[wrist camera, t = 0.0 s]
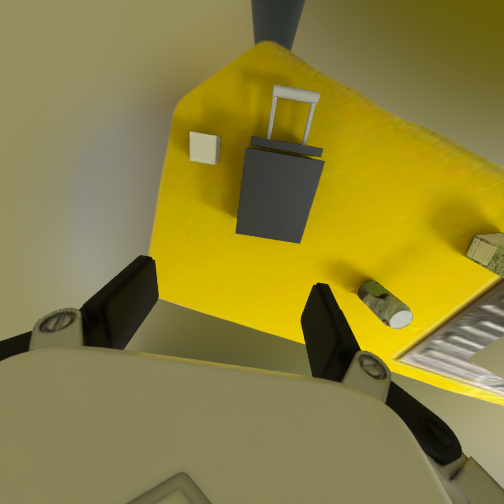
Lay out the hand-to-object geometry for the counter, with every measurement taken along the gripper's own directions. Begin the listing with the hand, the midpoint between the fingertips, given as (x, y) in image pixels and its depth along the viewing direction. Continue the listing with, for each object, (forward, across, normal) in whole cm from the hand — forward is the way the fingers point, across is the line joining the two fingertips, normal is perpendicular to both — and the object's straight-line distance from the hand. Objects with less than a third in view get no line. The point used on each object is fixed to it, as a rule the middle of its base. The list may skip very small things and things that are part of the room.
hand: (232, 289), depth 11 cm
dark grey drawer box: (+33, -4, 0) cm, 33 cm away
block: (+33, +10, -6) cm, 35 cm away
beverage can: (+33, -34, +20) cm, 52 cm away
